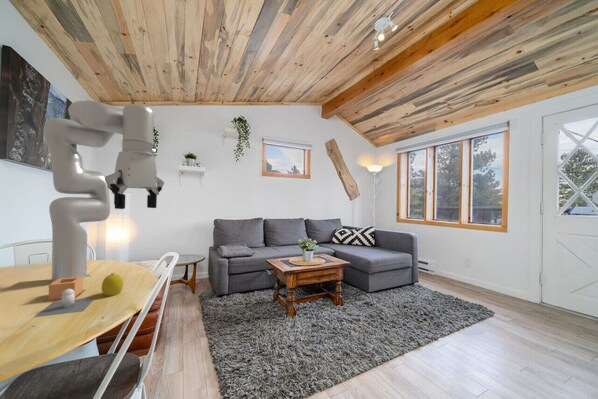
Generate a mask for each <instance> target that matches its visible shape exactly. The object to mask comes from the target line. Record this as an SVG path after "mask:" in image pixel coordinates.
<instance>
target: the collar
mask: <svg viewBox="0 0 598 399" xmlns="http://www.w3.org/2000/svg"><path fill="white" fill-rule="evenodd" d="M83 282H84V279H83V277H74V278H61V279H58V280H56V281H54V282H51V283H50V284H48V298H49V300H55V299H62V293H63V291H65V290H66V289H73V290H74V292H75V293H74V297H76V296H77V295H78V294H79V293H80V292H81V291H83V290H84V289H83V288H84V287H83ZM55 301H56V300H55Z"/></svg>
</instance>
